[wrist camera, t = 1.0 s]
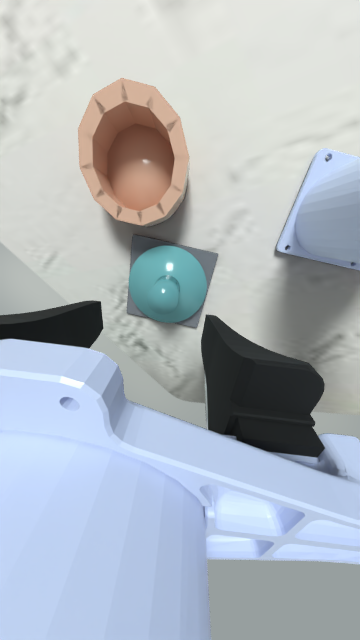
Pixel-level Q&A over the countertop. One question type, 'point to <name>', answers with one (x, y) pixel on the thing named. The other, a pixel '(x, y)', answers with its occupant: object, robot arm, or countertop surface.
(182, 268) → the lid
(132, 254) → the mat
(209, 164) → the countertop surface
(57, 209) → the countertop surface
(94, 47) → the countertop surface
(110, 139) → the bowl
